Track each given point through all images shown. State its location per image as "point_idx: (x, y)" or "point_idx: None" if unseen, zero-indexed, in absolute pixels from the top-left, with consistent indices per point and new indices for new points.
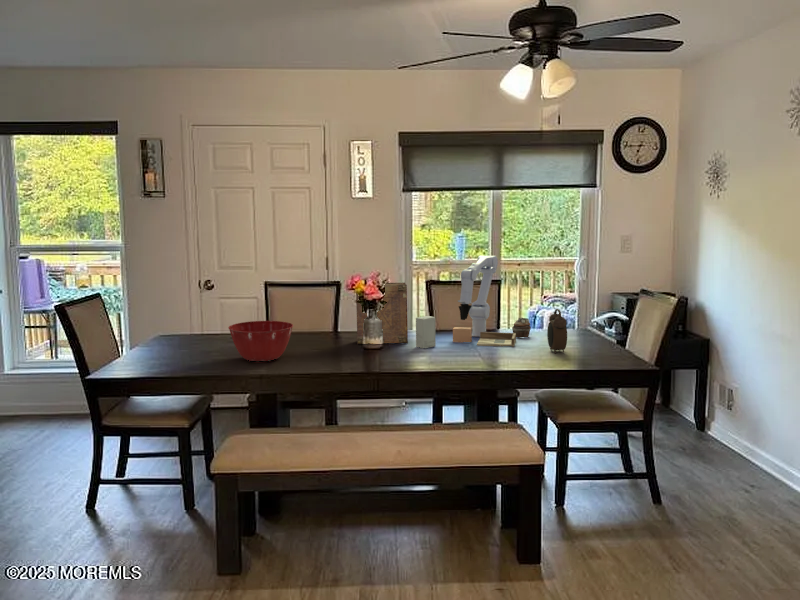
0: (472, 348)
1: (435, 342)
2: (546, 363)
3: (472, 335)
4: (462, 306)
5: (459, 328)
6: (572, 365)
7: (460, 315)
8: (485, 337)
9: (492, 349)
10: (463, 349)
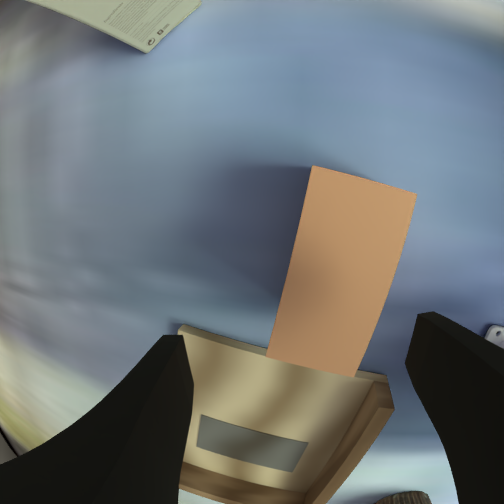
0: (106, 282)
1: (133, 46)
2: (11, 413)
3: (492, 337)
4: (7, 480)
5: (320, 249)
6: (20, 442)
7: (457, 340)
8: (360, 409)
9: (104, 369)
10: (79, 229)
